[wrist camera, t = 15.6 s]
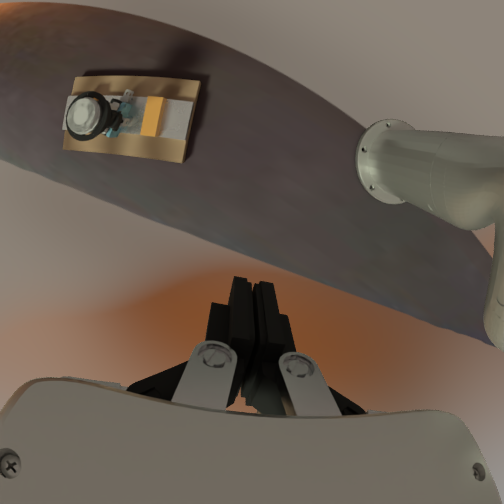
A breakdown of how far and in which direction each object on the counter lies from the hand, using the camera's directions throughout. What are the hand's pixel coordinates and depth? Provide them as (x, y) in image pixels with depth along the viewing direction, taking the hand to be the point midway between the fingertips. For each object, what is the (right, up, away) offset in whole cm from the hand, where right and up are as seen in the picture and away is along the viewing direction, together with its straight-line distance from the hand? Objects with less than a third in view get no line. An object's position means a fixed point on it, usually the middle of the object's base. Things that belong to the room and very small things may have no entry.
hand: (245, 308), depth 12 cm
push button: (-16, +20, +18) cm, 32 cm away
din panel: (-17, +21, +20) cm, 33 cm away
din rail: (-17, +20, +19) cm, 32 cm away
